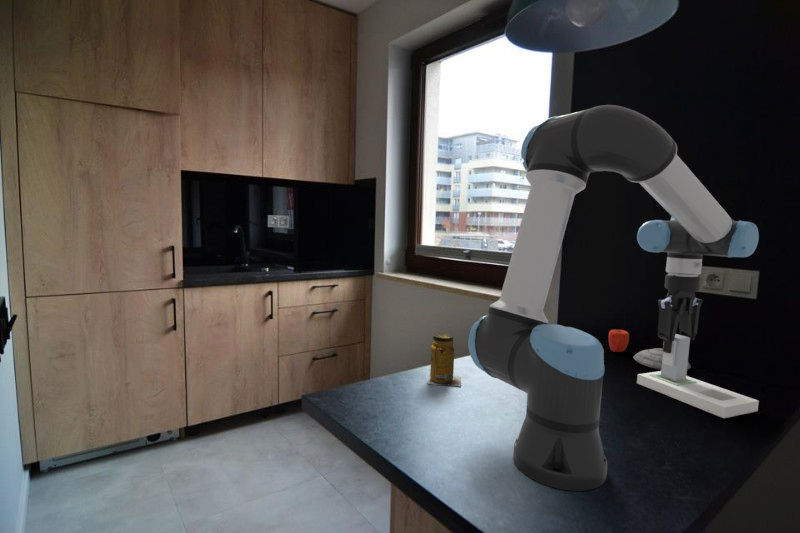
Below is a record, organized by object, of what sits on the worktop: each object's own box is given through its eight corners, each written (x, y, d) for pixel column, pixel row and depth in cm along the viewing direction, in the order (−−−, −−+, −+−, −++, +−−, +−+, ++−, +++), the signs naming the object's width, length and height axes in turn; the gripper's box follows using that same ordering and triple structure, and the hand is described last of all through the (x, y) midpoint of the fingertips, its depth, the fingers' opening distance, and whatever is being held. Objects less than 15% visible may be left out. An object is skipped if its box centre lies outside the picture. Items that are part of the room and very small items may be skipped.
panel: (723, 418, 96) (725, 406, 96) (636, 383, 116) (637, 373, 116) (757, 411, 101) (758, 399, 100) (668, 378, 121) (669, 369, 121)
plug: (675, 380, 111) (679, 338, 110) (658, 374, 115) (662, 334, 114) (686, 379, 112) (690, 337, 111) (668, 373, 117) (672, 333, 116)
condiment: (429, 375, 118) (431, 331, 117) (460, 377, 117) (463, 333, 116) (427, 384, 111) (429, 338, 110) (461, 387, 110) (463, 341, 109)
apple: (623, 355, 142) (625, 333, 141) (604, 351, 146) (605, 329, 146) (631, 352, 146) (632, 330, 145) (612, 348, 150) (614, 326, 150)
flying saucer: (622, 359, 139) (623, 342, 138) (664, 358, 141) (665, 341, 141) (657, 375, 124) (658, 357, 123) (703, 374, 126) (705, 355, 126)
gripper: (673, 277, 104) (665, 372, 106) (720, 275, 110) (711, 365, 113) (645, 273, 111) (638, 362, 113) (691, 272, 117) (683, 356, 120)
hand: (674, 363), depth 113 cm, fingers closed on plug, 4 cm apart
